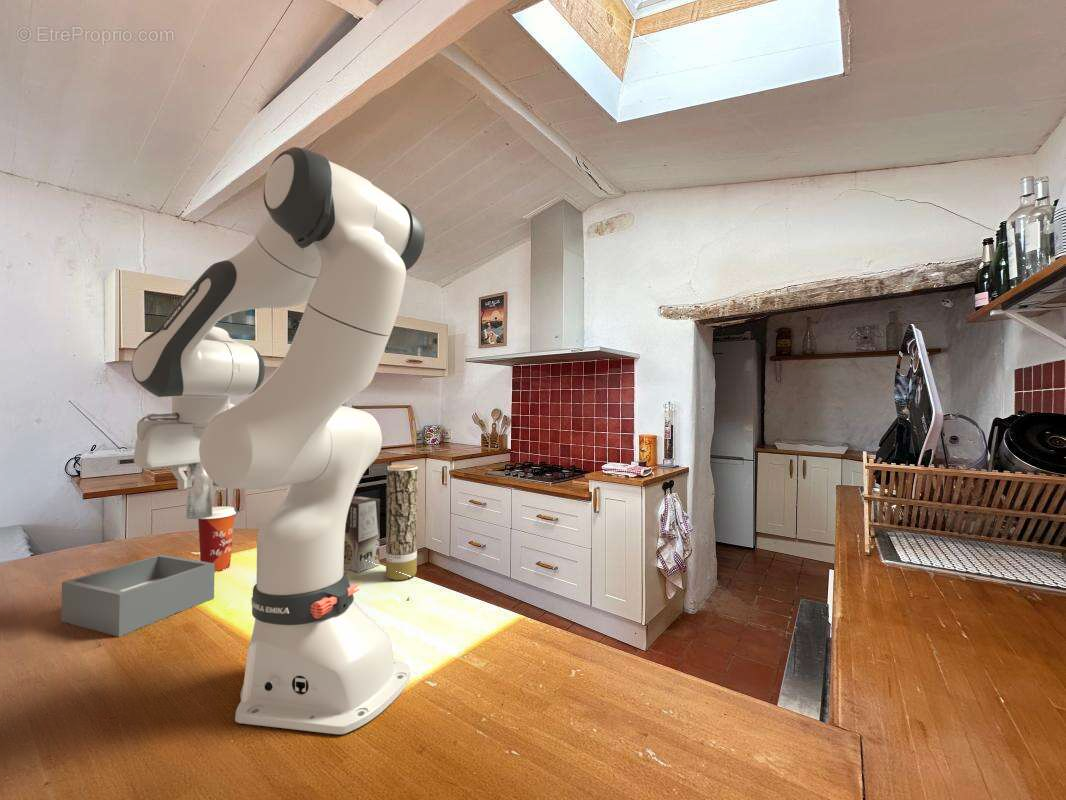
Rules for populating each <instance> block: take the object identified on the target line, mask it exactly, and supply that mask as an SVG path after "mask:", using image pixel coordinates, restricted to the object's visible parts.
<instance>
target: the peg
mask: <svg viewBox="0 0 1066 800" xmlns="http://www.w3.org/2000/svg"><path fill="white" fill-rule="evenodd" d="M186 477H187V478H188V479H193V482H192V488H190V489H186V491H185V492H186V494H185V495H186V496H185V497H186V499H185V502H186V503H185V519H187V520H198V519H200V518H206V517H210V516H212V507H214V506H213V500H214V499H213V496H214V493H213V492H214V485H213V481H212V480H211V478H210V477H209V476H208V475H207V474H206V472H205V470H204V469H203V466H202V464H201V462H200V463H193V464H187V470H186Z"/></svg>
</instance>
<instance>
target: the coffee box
mask: <svg viewBox="0 0 1066 800" xmlns="http://www.w3.org/2000/svg"><path fill="white" fill-rule="evenodd" d="M380 515H381V499H380V498H374V497H368V496H367V497H366V496H361V495H353V498H352V501H351V504H350V507H349V511H348V515H347V520H346V526H345V542H344V569H345V568H347V569H346V570H348V569H350V570H349V571H352V570H353V571H352V572H355V571H356V573H361V572H364V571H366V570H365V569H367V570H369V569H373V568H375V567H379V566H380V536H381V535H380V534H381V533H380V530H381V528H380V526H381V525H380V524H381V523H380V517H381V516H380ZM366 560H367V561H366ZM369 561H370V562H369ZM372 562H373V563H372ZM374 563H375V564H378V565H379V566H378V565H375V564H374ZM363 570H364V571H363ZM360 571H361V572H360Z"/></svg>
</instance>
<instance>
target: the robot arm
mask: <svg viewBox="0 0 1066 800" xmlns="http://www.w3.org/2000/svg"><path fill="white" fill-rule="evenodd" d="M266 174H267V175H266V177H265V181H264V185H263V203H264V206H265V208H266V210H267V212H268V215H267V216H266V218H265V220H264V222H263V223H262V224H261V226H260V228H259V230H258V232H256V235H255V236H254V238H253V240H252V241H251V242H250V243H249V244H248V245H247V246H245V248H243V249H242V250H241V251H240V252H238V253H237V254H235V255H233V256H232V257H230V258H227V259H225V260H222V261H221V260H220V261H218V262H215V263H213V264H211V265H210V266H209V267H208V268H207V269H206V270H205V271H204V272H203V273H202V274H201V275H200V276H199V278H198V279H197V280H196V281H195V282H194V283H193V284H192V285H191V286H190V288H189V289H188V290H187V292H186V293H185V294H184V295H183V296H182V298H181V299H180V301H179V302H178V303H177V304H176V305H175V307H174V308H173V309H172V310H171V312H169V314H168V315H167V317H166V318H165V319H164V320H163V321H162V323H161V324H160V325H159V327H158V328H156V329H155V330H154V331H153V332H152V333H150V334H149V335H148V336H146V337H145V338H144V339H143V340H142V341H141V342H140V343H139V344H138V345H137V347H136V348H135V350H134V353H133V355H132V360H131V372H132V373H131V374H132V377H133V379H134V380H135V381H136V382H137V383H138V385H140V387H142V388H143V389H144V390H146V391H147V392H149V393H151V394H152V395H153V396H156V397H158V398H163V397H164V398H166V397H167V398H168V397H171V412H170V413H159V414H158V413H149V414H147V415H146V416H144V417H142V418H140V420H138V421H137V424H136V434H137V435H136V436H137V437H136V441H135V447H134V452H133V453H134V454H133V463H134V464H135V465H136V466H137V467H138V468H140V469H141V468H142V469H158V468H166V467H167V468H168V467H170V472H171V473H172V475H173V476H174V478H175V479H176V480H177V489H178V490H181V491H183V490H187V489H190V488H192V482H193V479H188V478H187V474H186V473H185V472H184V471H187V464H193V463H200V462H201V464H202V466H203V469H204V470H205V472H206V474H207V475H208V476H209V477H210V478H211V480H212V481H213V486H214V485H217V486H219V487H221V488H224V489H230V490H231V489H233V490H234V489H235V490H259V491H260V490H268V489H274V488H276V489H277V488H280V487H286V486H290V487H289V490H288V492H287V494H286V497H285V498H284V500H283V502H282V503H281V504H280V506H279V507H278V508H277V509H275V511H274V512H273V513H271V514H270V515H269V516H268V517H267V518H266V519H265V520H264V521H263V522H262V524H261V526H260V527H259V530H258V533H257V538H256V583H255V585H253V587H252V596H251V601H250V602H251V614H252V617H253V618H254V625H253V630H252V634H251V637H250V640H249V645H248V646H247V647H248V648H247V655H246V661H245V662H246V663H245V669H244V671H245V672H244V676H243V677H244V679H243V684H242V687H241V690H240V695H239V696H240V702H239V703H238V705H237V708H236V710H235V714H234V715H235V717H234V722H235V723H238V724H245V725H253V726H263V727H269V728H279V729H280V728H281V729H288V730H296V731H297V730H298V731H305V732H315V733H320V734H321V733H323V734H332V735H346V734H348V733H350V732H352V731H354V730H358V728H361V727H362V726H364V725H365V724H368V723H369V722H370V721H372V720H373V719H374V718H376V717H377V716H378V715H380V714H381V713H382V712H383V711H385V710H386V709H387V708H388V707H389V706H390V705H391V704H392V703H393V702H394V701H395V700H396V699H398V697H399V696H400V694H401V693H402V692H403V691H404V689H405V688H406V687H407V685H408V682H409V680H410V675H411V671H410V666H409V665H408V664H406V663H404V662H402V661H400V660H398V659H395V658H394V654H393V647H392V641H391V638H390V635H389V634H388V633H387V631H385V629H383V628H382V627H381V626H380V625H379V622H377V621H376V620H374V619H373V618H372V617H370V616H369V615H368V614H367V613H366V612H365V611H364V610H363V609H362V608H361V607H360V606H359V605H358V604H357V603H356V602H355V600H354V599H355V598H354V594H355V593H357V592H359V591H360V588H358V586H360V582H356V583H355V584H353V585H352V586H351V583H350V581H349V579H348V575H347V573H346V571H345V570H344V569H345V568H344V542H345V526H346V520H347V515H348V511H349V507H350V504H351V501H352V498H353V496H355V492H356V489H357V488H358V485H359V483H360V481H361V479H362V477H363V475H364V474H365V473H366V471H367V469H369V467H370V466H371V465H372V464H373V463H374V462H375V461H376V459H377V458H378V456H379V455H380V452H381V449H382V444H383V435H382V430H381V426H380V425H379V422H378V421H377V420H376V418H375V417H374V416H373V415H372V414H370V413H369V412H367V411H364V410H361V409H358V408H354V407H349V406H346V405H344V404H345V403H346V402H347V401H348V400H350V399H351V398H353V397H354V396H356V395H358V394H359V393H361V392H362V391H364V390H365V389H366V388H368V387H369V385H370V384H371V382H372V381H373V379H374V376H375V374H376V372H377V370H378V368H379V364H380V363H381V359H382V357H383V354H384V352H385V349H386V347H387V344H388V342H389V339H390V337H391V334H392V332H393V328H394V326H395V324H396V320H397V317H398V314H399V311H400V306H401V303H402V299H403V295H404V291H405V290H404V289H405V285H406V277H407V271H409V270H410V269H411V268H412V267H413V266H414V265H415V263H416V262H417V261H418V260H419V258H420V257H421V255H422V253H423V250H424V246H425V239H426V238H425V237H426V233H425V227H424V225H423V222H422V221H421V219H420V218H419V217H418V215H417V214H416V213H415V212H414V211H412V209H410V207H408V206H407V205H406V204H404V203H402V202H398V201H397V200H396V199H394V198H393V197H392V196H390V195H389V194H388V193H386V192H384V190H381V188H379V187H377V186H375V185H374V184H373V183H372V181H370V180H368V179H367V178H364V177H363V176H361V175H359V174H358V173H355V172H354V171H352V170H349V169H348V168H346V167H343V166H341V165H339V164H337V163H335V162H332V161H330V160H328V159H327V157H326V156H324V155H323V154H320V153H317V152H316V151H312V150H310V149H306V148H302V147H296V146H295V147H294V146H293V147H290V148H288V149H286V150H284V151H282V152H280V153H279V154H278V155H277V156H276V157H275V159H274V160H273V162H272V164H271V165H270V166H269V169H268V171H267V173H266ZM305 302H306V305H305V308H304V310H303V314H302V316H301V319H300V322H299V324H298V327H297V329H296V332H295V334H294V336H293V339H292V341H291V344H290V347H289V348H288V351H287V352H286V354H285V356H284V357H283V360H282V361H281V362H280V363H279V365H278V366H277V368H276V369H275V370H274V371H273V373H272V374H271V375H270V376H269V377H268V378H267V379H266V381H264V379H265V371H266V370H265V369H266V368H265V367H266V366H265V361H264V358H263V357H262V355H261V354H260V353H259V351H258V350H257V349H256V348H255V347H253V346H251V345H247V344H245V343H242V342H240V341H236V340H234V339H233V338H231V337H230V334H229V332H228V331H227V330H225V329H224V328H222V327H218V326H215V325H216V324H217V323H218V322H220V321H221V320H222V319H223V318H225V317H227V316H230V315H233V314H236V313H238V312H244V311H250V310H259V309H274V308H275V309H277V308H278V309H279V308H290V307H294V306H295V307H296V306H298V305H301V304H304V303H305ZM263 381H264V382H263ZM262 383H263V384H262ZM245 395H246V396H247V395H249V396H248V397H246V398H245V399H243V400H241V402H239V403H237V404H234V403H231V396H235V397H236V396H239V397H240V396H245Z"/></svg>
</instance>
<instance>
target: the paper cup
mask: <svg viewBox="0 0 1066 800" xmlns="http://www.w3.org/2000/svg"><path fill="white" fill-rule="evenodd" d="M236 514H237V512H236V511H235V507H233V506H230V505H229V506H227V505H226V506H212V516H210V517H206V518H200V519H197V521H198V538H199V555H200V561H203V562H209V563H215V568H214V573H216V572H215V571H218V572H221V571H220V570H222V571H224V570H223V569H225V570H227V569H229V568H230V567H231V558H232V551H233V549H232V547H233V537H234V536H233V535H234V523H235V515H236ZM229 566H230V567H229ZM228 567H229V568H228ZM226 568H227V569H226Z"/></svg>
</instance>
